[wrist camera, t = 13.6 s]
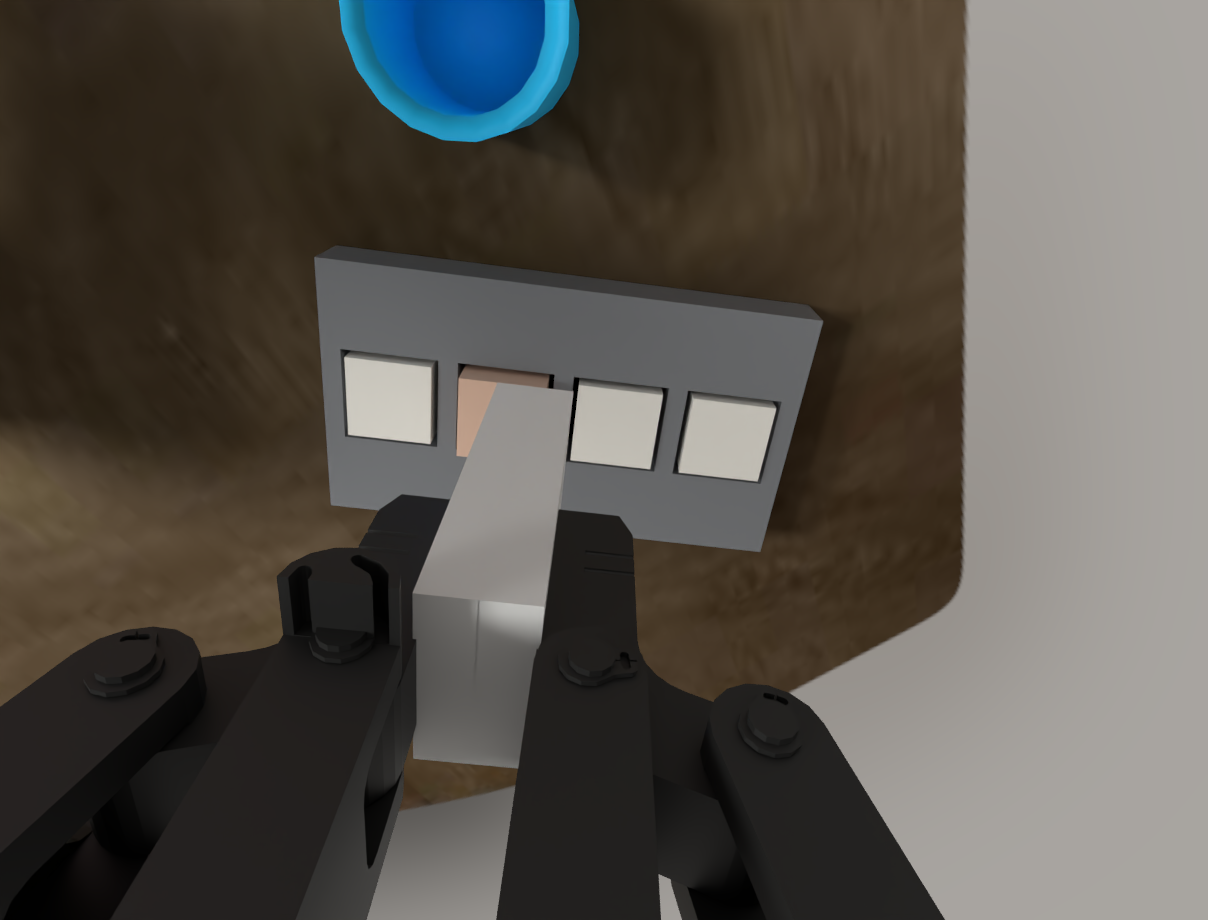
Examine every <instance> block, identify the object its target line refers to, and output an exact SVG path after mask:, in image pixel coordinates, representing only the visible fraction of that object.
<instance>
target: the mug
mask: <svg viewBox="0 0 1208 920" xmlns="http://www.w3.org/2000/svg"><path fill="white" fill-rule="evenodd" d="M339 5H340V14H341V24H342V31H343V34H344V36H345V39H346V42H347V44H348V47H349V50H350V52H351V55H352V58H353V60H354V63H355V66H356V68H357V70H358V72H359V73H360V75H361V76H362V77H363V79H364V80H365V82H366V83H367V85H368V86H369V87H370V89H371V90H372V92H373V93H374V94H375V96H376V97H377V99H378V100H379V101H380V103H381V104H382V105H384V106H385V107H386V108H387V109H389V110H390V111H391V112H392V113H394V114H395V115H396V116H397V117H399V118H400V119H401V120H402V121H403V122H405V123H406V124H407V125H408V126H410V127H412V128H414V129H417V130H419V131H422V132H424V133H427V134H429V135H431V136H434V137H436V138H439V139H441V140H449V141H467V142H479V141H482V140H485V139H488V138H492V137H495V136H498V135H501V134H505V133H508V132H511V131H514V130H517V129H520V128H523V127H526V126H529V125H531V124H533V123H534V122H535V121H537V120H538V119H539V118H541V117H542V116H543V115H545V114H546V113H547V112H549V111H550V110H551V109H553V107H554V106H555V105H556V103H557V102H558V100H559V99H560V97H561V96H562V94H563V93H564V91H565V90H566V89H567V87H568V86H569V84H570V81H571V77H572V74H573V71H574V68H575V65H576V61H577V58H578V54H579V19H578V15H577V11H576V7H575V3H574V0H339Z"/></svg>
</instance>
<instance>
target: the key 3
mask: <svg viewBox="0 0 1208 920" xmlns="http://www.w3.org/2000/svg"><path fill="white" fill-rule="evenodd" d="M662 398H663V392H662V387H654V386H646V385H638V384H629V383H621V382H613V381H604V380H596V379H588V378H580V379H579V388H578V397H577V405H576V414H575V423H574V432H573V441H572V449H571V458H570V460H573V461H582V462H591V463H599V464H608V465H617V466H626V467H634V468H643V469H650V467H651V461H652V456H653V450H654V444H655V438H656V433H657V427H658V421H659V415H660V410H661V404H662Z"/></svg>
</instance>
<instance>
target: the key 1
mask: <svg viewBox="0 0 1208 920" xmlns="http://www.w3.org/2000/svg"><path fill="white" fill-rule="evenodd" d="M344 362H345V381H346V401H347V421H348V435H355V436H364V437H372V438H381V439H390V440H399V441H408V442H416V443H425V444H431V442H432V440H433V438H434V436H435V434H436V433H437V424H438V361H437V360H429V359H420V358H412V357H404V356H395V355H387V354H379V353H370V352H362V351H354V350H351V351H350V352H349V353H348V354H347V355H346V356H345V357H344Z"/></svg>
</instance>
